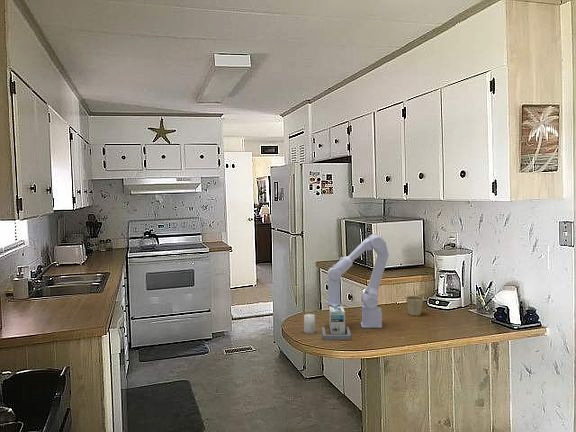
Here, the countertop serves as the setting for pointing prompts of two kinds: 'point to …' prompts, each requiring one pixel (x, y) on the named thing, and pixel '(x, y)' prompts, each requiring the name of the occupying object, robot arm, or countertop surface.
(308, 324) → the white cylinder
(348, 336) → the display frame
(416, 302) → the flower pot
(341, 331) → the light bulb box
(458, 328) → the countertop surface
